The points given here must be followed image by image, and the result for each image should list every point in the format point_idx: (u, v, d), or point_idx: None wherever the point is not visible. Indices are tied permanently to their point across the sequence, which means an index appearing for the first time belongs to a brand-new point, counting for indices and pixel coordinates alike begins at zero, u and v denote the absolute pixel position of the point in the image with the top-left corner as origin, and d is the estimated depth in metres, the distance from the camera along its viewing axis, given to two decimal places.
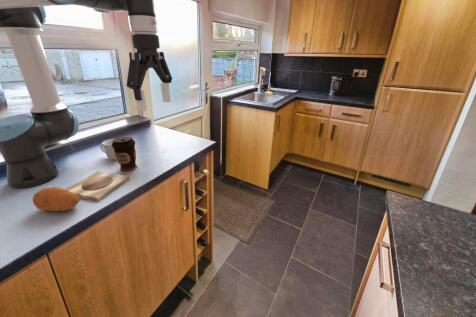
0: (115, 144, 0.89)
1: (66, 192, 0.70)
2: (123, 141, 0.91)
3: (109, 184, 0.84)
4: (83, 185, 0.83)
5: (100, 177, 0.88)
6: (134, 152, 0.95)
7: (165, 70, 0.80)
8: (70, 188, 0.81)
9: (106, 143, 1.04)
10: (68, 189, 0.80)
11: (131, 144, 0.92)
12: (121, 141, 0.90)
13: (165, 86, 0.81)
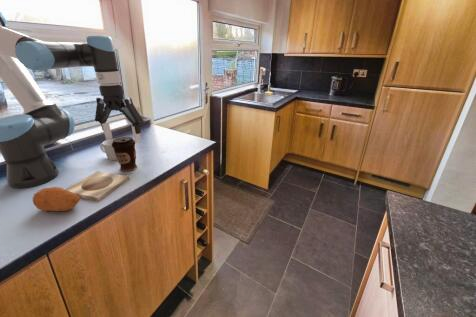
0: (115, 144, 0.89)
1: (66, 192, 0.70)
2: (123, 141, 0.91)
3: (109, 184, 0.84)
4: (83, 185, 0.83)
5: (100, 177, 0.88)
6: (134, 152, 0.95)
7: None
8: (70, 188, 0.81)
9: (106, 143, 1.04)
10: (68, 189, 0.80)
11: (131, 144, 0.92)
12: (121, 141, 0.90)
13: None
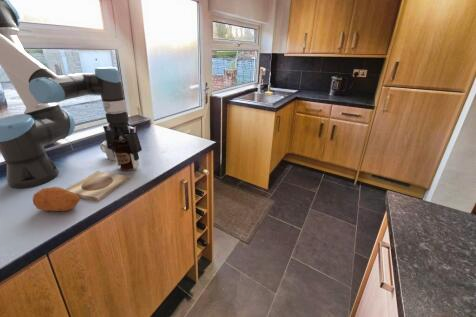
0: (115, 144, 0.89)
1: (66, 192, 0.70)
2: (123, 141, 0.91)
3: (109, 184, 0.84)
4: (83, 185, 0.83)
5: (100, 177, 0.88)
6: None
7: None
8: (70, 188, 0.81)
9: (106, 143, 1.04)
10: (68, 189, 0.80)
11: None
12: (121, 141, 0.90)
13: None
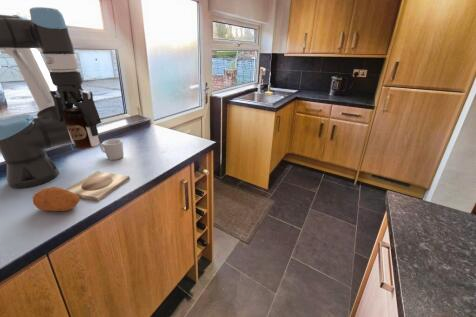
0: (65, 113, 0.70)
1: (66, 192, 0.70)
2: (76, 110, 0.71)
3: (109, 184, 0.84)
4: (83, 185, 0.83)
5: (100, 177, 0.88)
6: None
7: None
8: (70, 188, 0.81)
9: (106, 143, 1.04)
10: (68, 189, 0.80)
11: None
12: (73, 110, 0.71)
13: None
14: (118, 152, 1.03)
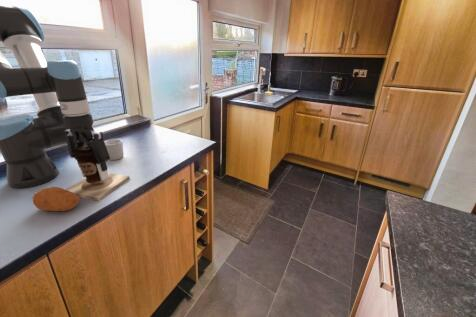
0: (77, 152, 0.75)
1: (66, 192, 0.70)
2: (87, 149, 0.77)
3: (109, 184, 0.84)
4: (83, 185, 0.83)
5: None
6: None
7: None
8: (70, 188, 0.81)
9: (106, 143, 1.04)
10: (68, 189, 0.80)
11: None
12: (84, 149, 0.76)
13: None
14: (118, 152, 1.03)
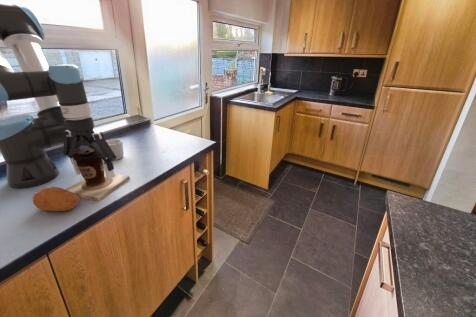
0: (76, 156, 0.76)
1: (66, 192, 0.70)
2: (86, 153, 0.77)
3: (109, 184, 0.84)
4: (83, 185, 0.83)
5: None
6: (101, 165, 0.82)
7: None
8: (70, 188, 0.81)
9: None
10: (68, 189, 0.80)
11: (96, 156, 0.78)
12: (84, 153, 0.77)
13: None
14: (118, 152, 1.03)
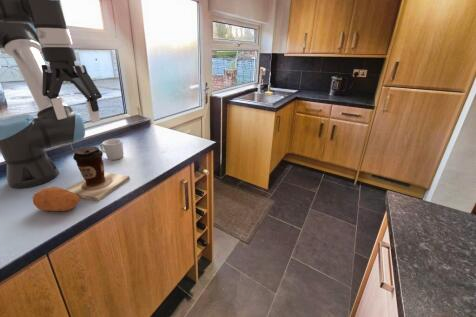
0: (76, 156, 0.76)
1: (66, 192, 0.70)
2: (86, 153, 0.77)
3: (109, 184, 0.84)
4: (83, 185, 0.83)
5: None
6: (101, 165, 0.82)
7: None
8: (70, 188, 0.81)
9: (106, 143, 1.04)
10: (68, 189, 0.80)
11: (96, 156, 0.78)
12: (84, 153, 0.77)
13: None
14: (118, 152, 1.03)
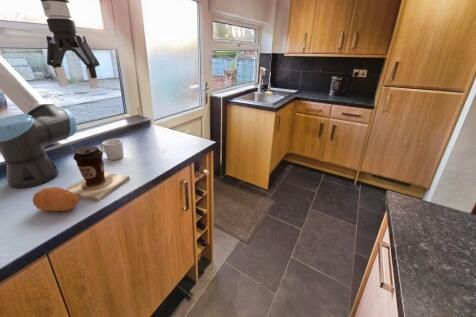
0: (77, 156, 0.76)
1: (66, 192, 0.70)
2: (87, 153, 0.77)
3: (109, 184, 0.84)
4: (83, 185, 0.83)
5: None
6: (101, 165, 0.82)
7: None
8: (70, 188, 0.81)
9: (106, 143, 1.04)
10: (68, 189, 0.80)
11: (96, 156, 0.78)
12: (84, 153, 0.77)
13: None
14: (118, 152, 1.03)
